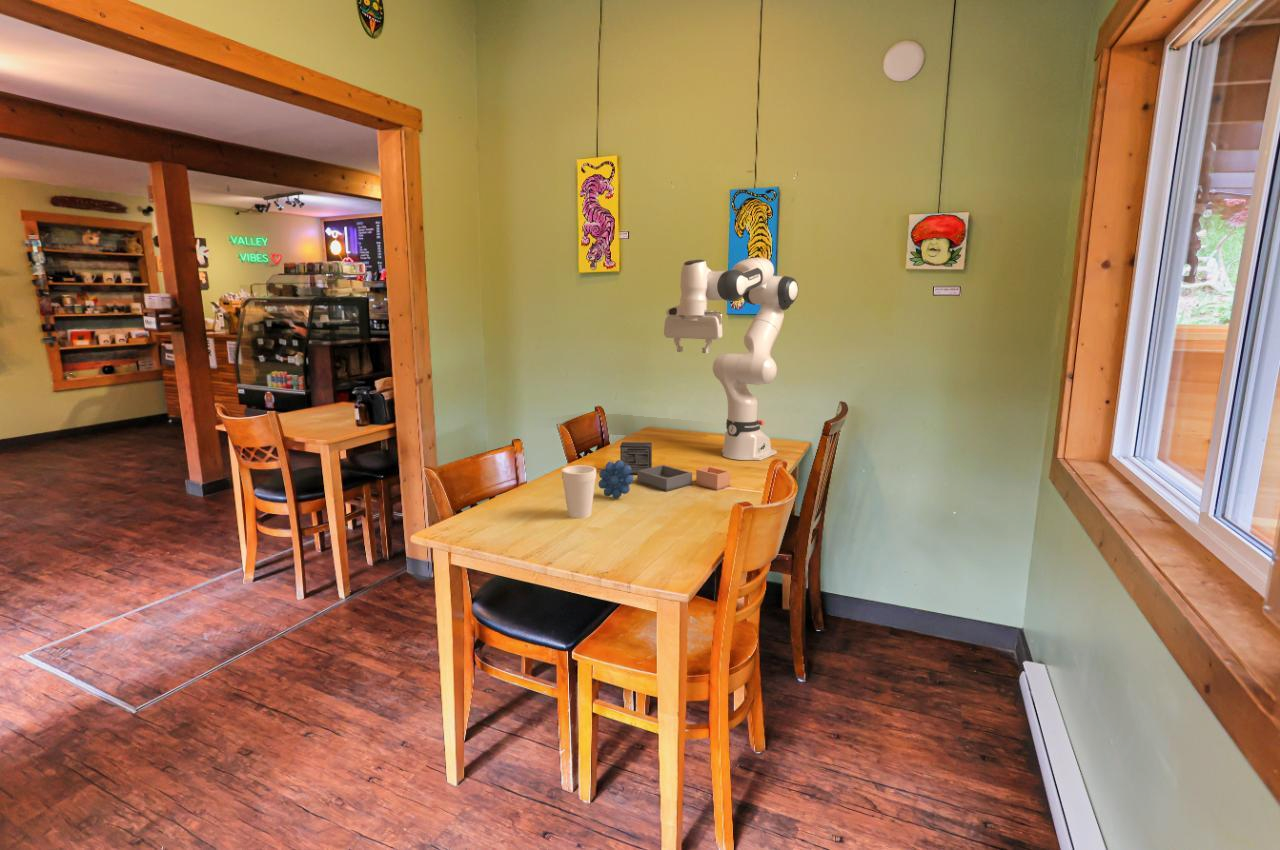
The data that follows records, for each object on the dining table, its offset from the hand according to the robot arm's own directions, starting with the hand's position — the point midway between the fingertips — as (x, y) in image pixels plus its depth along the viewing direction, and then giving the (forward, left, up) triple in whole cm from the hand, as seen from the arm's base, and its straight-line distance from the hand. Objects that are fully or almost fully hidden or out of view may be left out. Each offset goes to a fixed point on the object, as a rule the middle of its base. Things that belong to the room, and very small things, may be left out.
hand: (692, 352), depth 213 cm
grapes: (+37, +4, -42) cm, 56 cm away
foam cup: (+55, +9, -42) cm, 69 cm away
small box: (+14, -13, -42) cm, 46 cm away
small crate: (+6, +15, -42) cm, 45 cm away
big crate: (+16, +3, -42) cm, 45 cm away
